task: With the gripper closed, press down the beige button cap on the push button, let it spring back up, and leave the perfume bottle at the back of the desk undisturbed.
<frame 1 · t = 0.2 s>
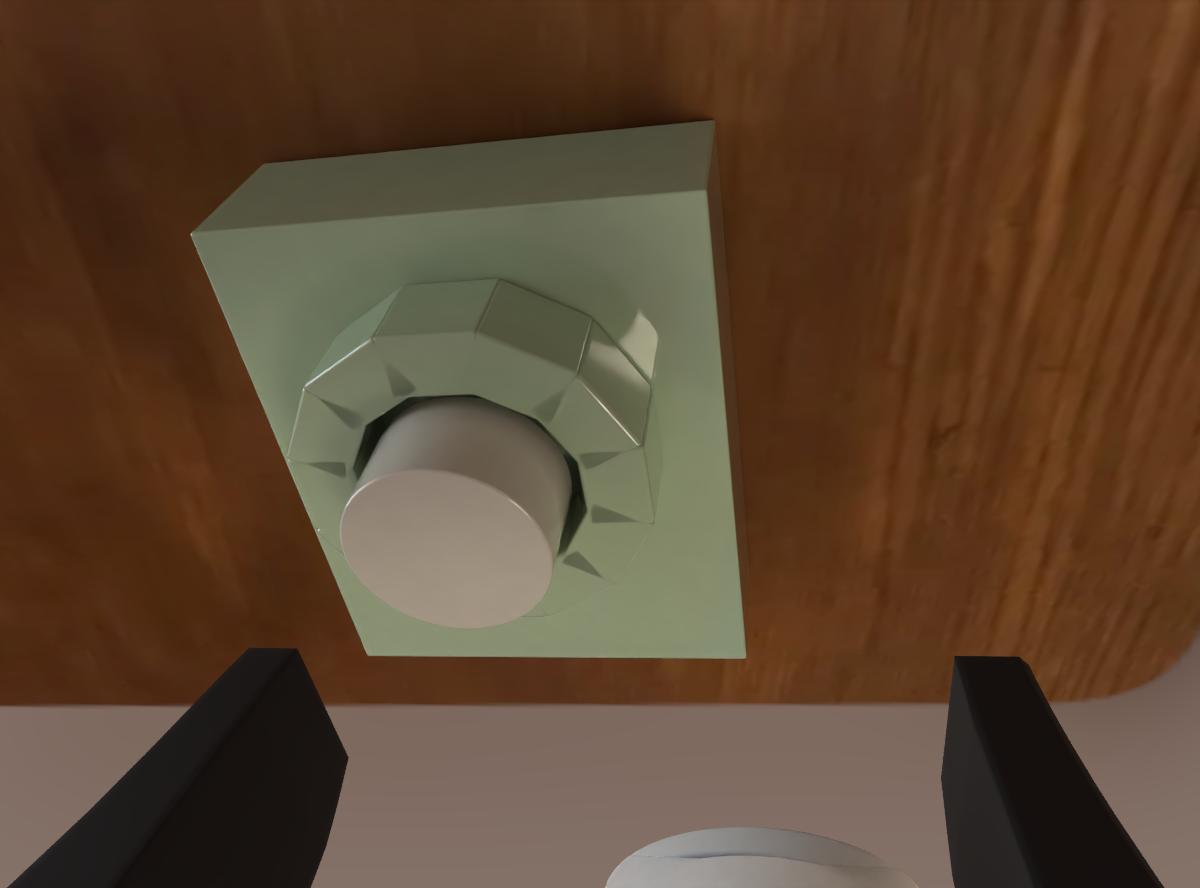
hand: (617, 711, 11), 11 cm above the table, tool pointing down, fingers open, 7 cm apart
beige button cap: (460, 514, 17), point 6 cm above the table, slide at 0.1 cm
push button: (531, 382, 22), on the table
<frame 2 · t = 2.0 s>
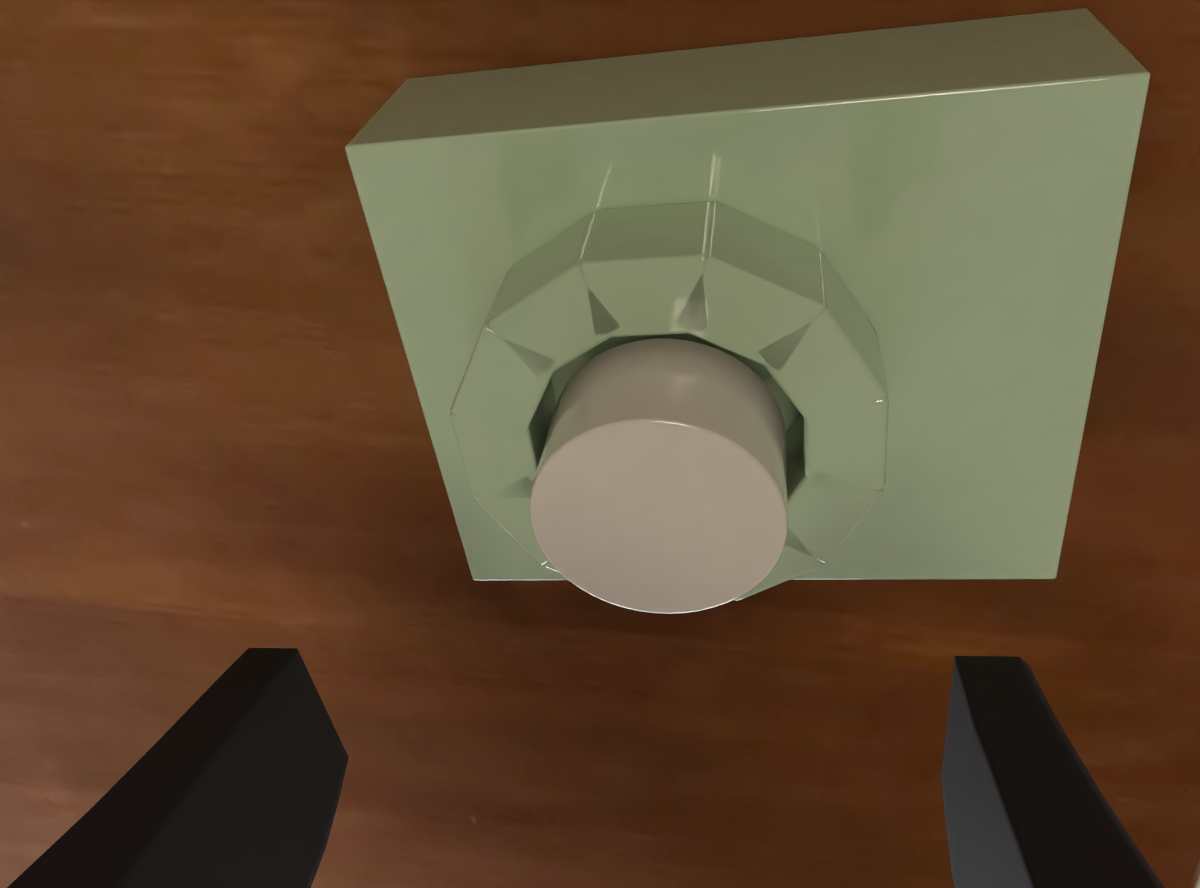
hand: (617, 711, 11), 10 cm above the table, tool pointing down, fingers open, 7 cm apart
beige button cap: (662, 478, 15), point 6 cm above the table, slide at 0.1 cm
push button: (739, 290, 19), on the table
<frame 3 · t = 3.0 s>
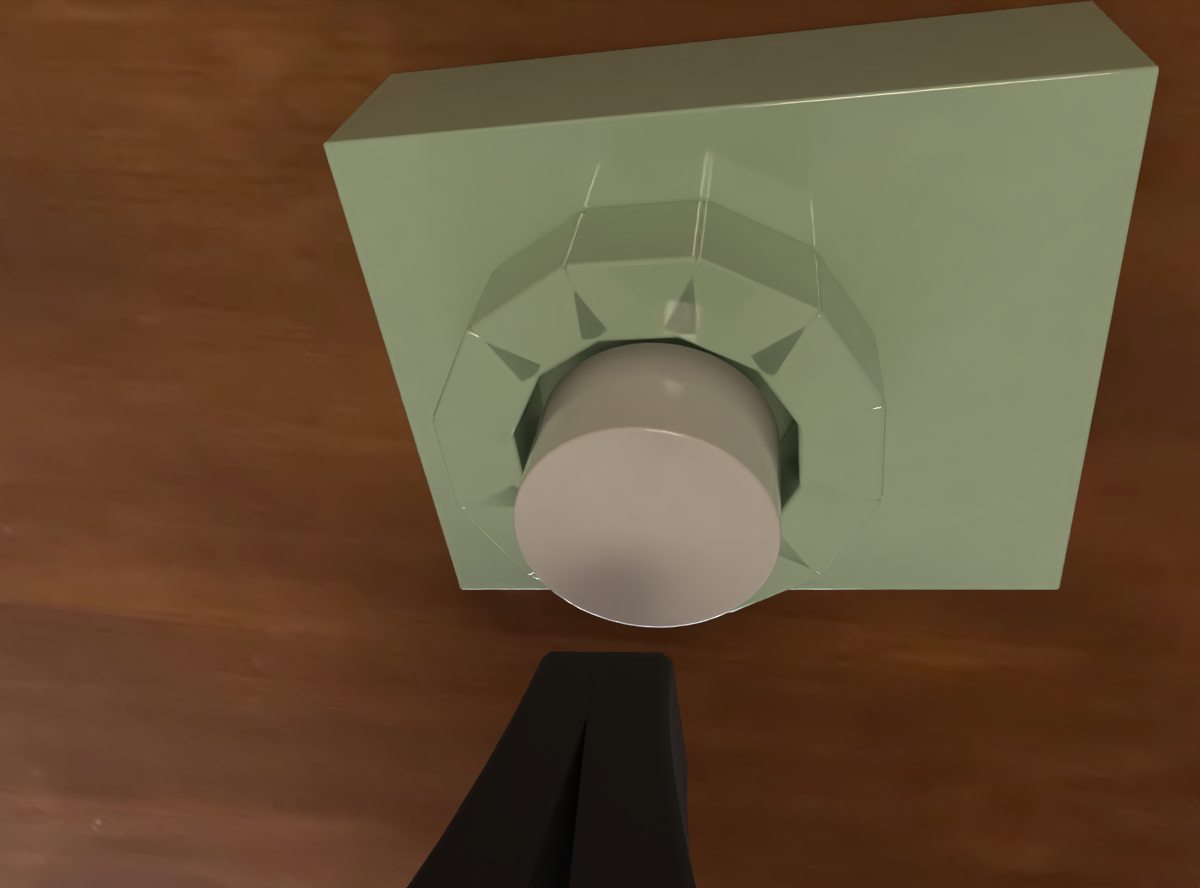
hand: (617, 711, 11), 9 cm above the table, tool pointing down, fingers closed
beige button cap: (651, 487, 14), point 6 cm above the table, slide at 0.1 cm
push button: (734, 292, 18), on the table
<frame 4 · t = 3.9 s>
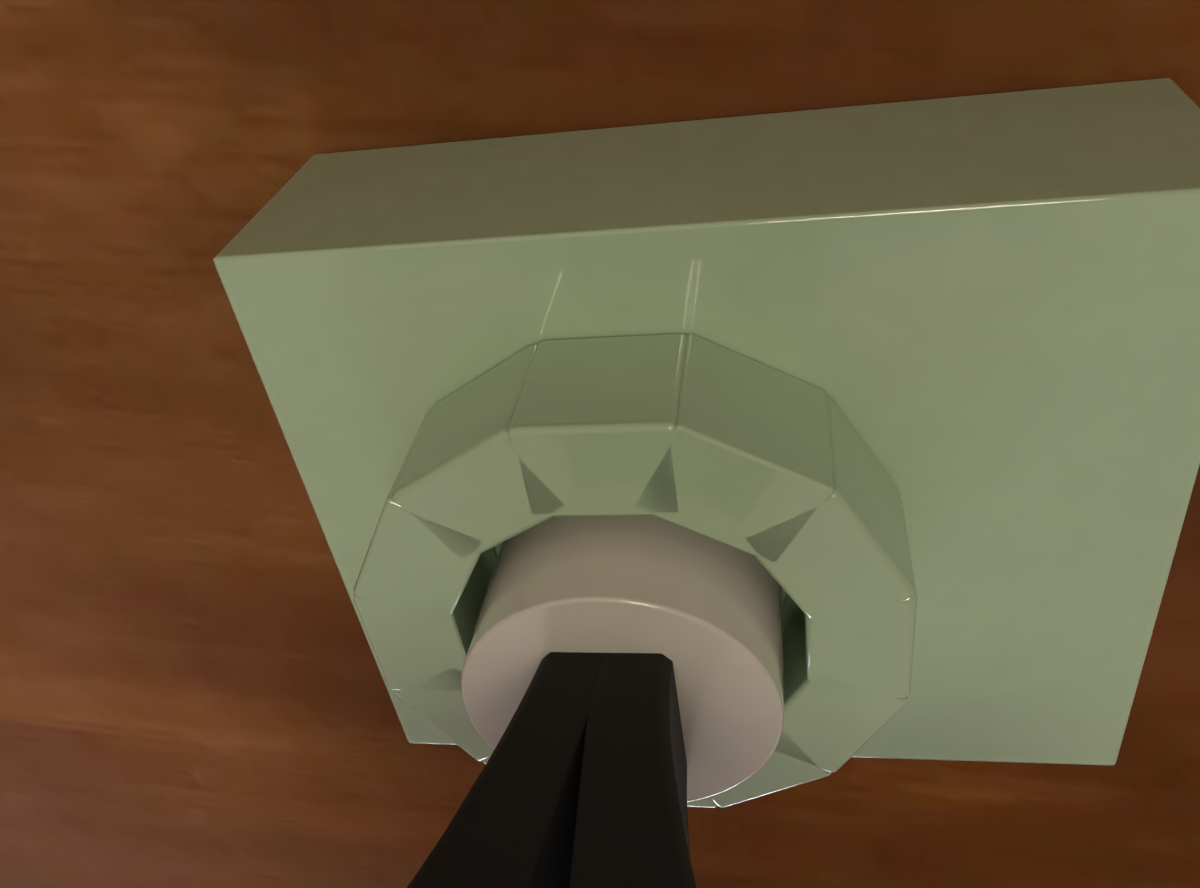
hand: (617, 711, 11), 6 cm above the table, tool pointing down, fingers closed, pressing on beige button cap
beige button cap: (629, 642, 12), point 5 cm above the table, slide at -0.6 cm, touching gripper
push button: (727, 403, 15), on the table
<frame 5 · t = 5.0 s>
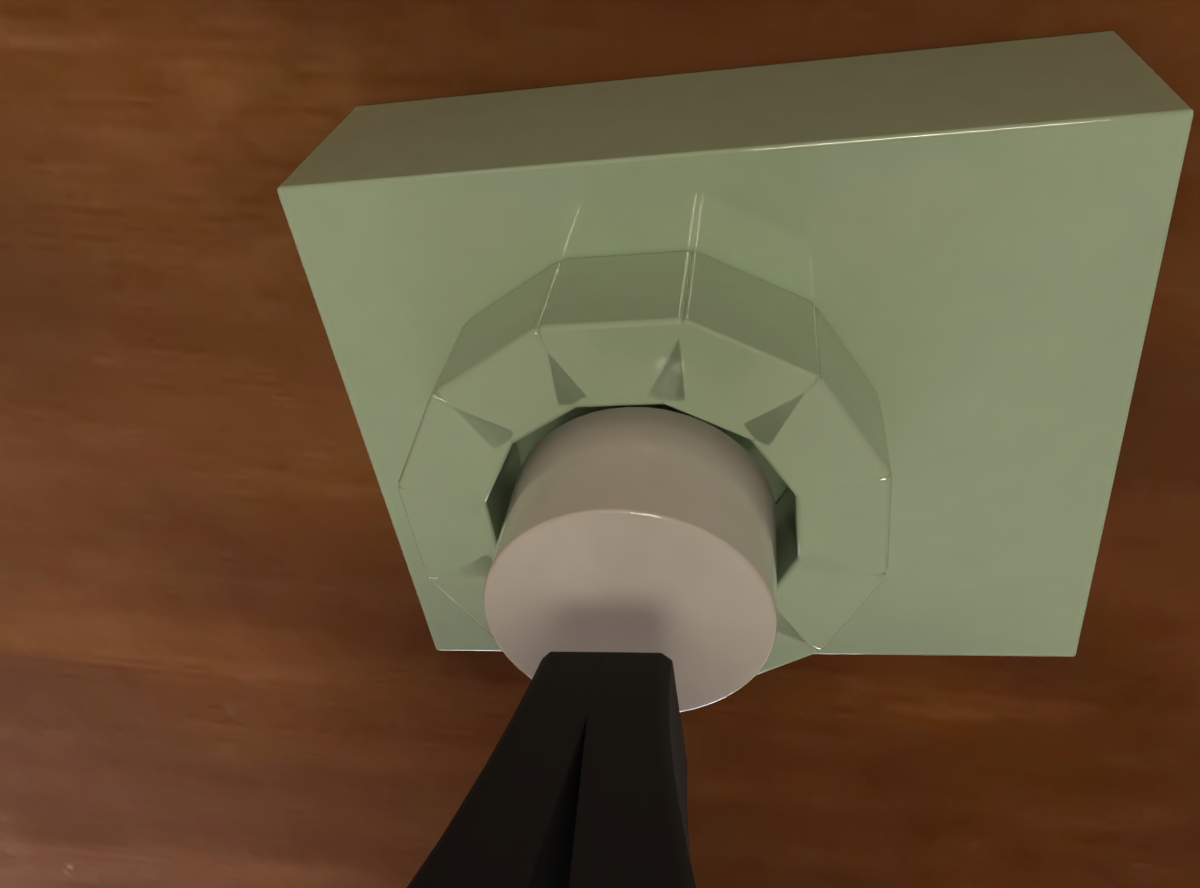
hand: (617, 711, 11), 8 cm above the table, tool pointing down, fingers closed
beige button cap: (635, 563, 13), point 6 cm above the table, slide at 0.1 cm
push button: (726, 336, 17), on the table
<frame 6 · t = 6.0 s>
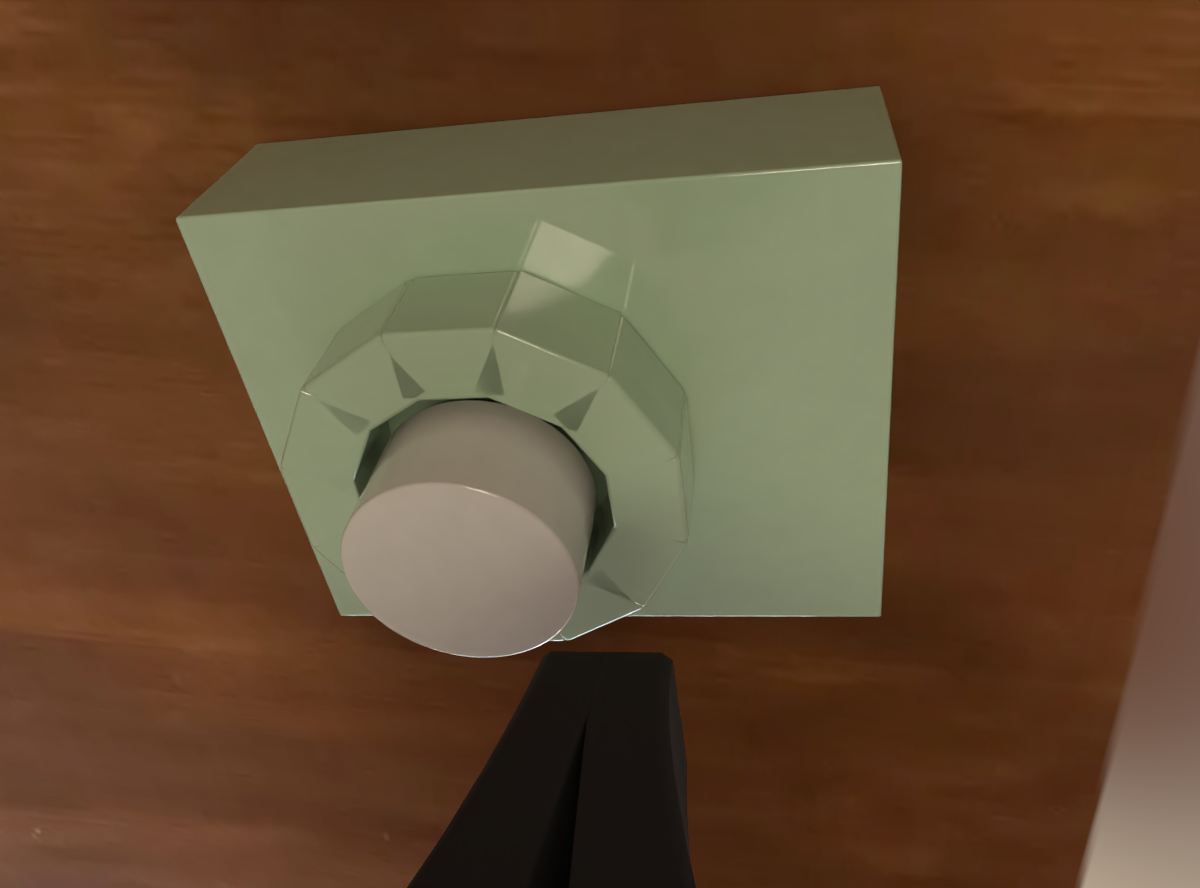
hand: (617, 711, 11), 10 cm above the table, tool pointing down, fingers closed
beige button cap: (474, 531, 15), point 6 cm above the table, slide at 0.1 cm
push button: (587, 340, 20), on the table
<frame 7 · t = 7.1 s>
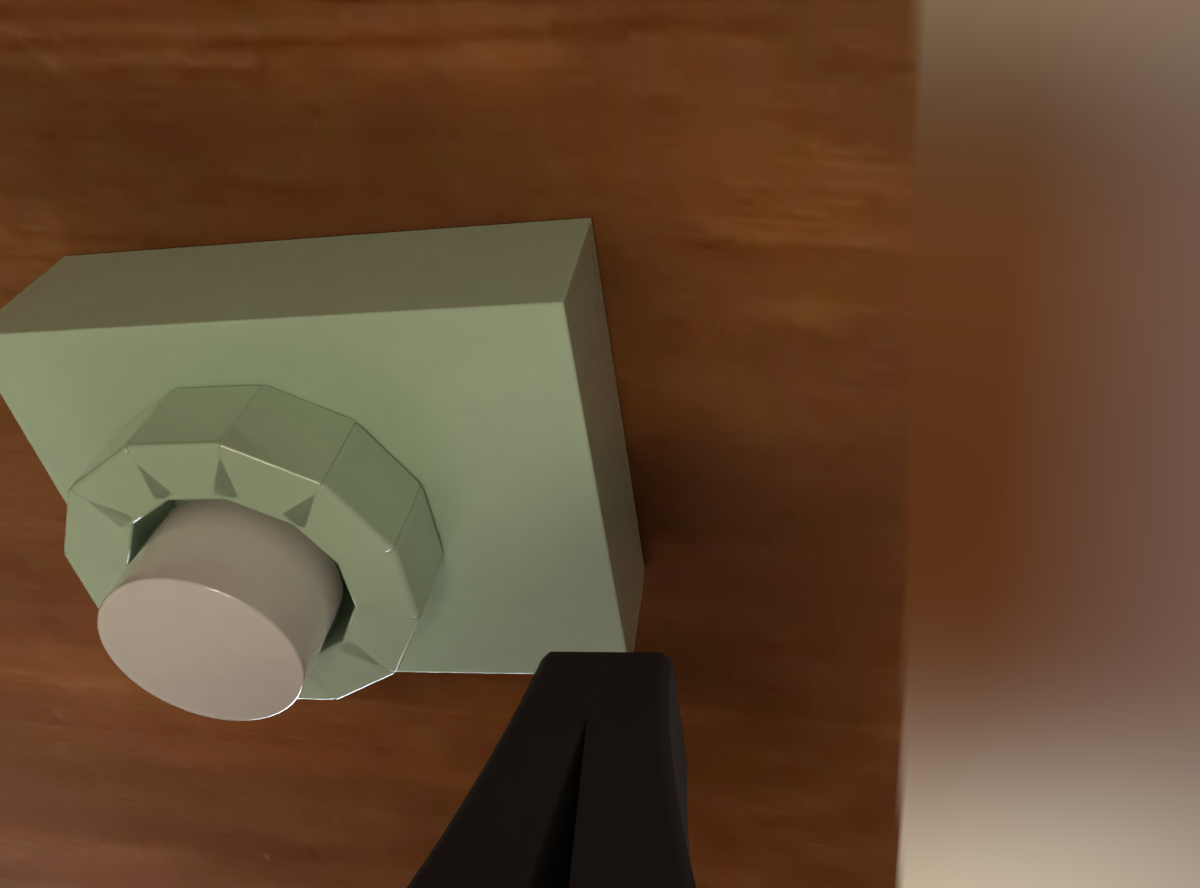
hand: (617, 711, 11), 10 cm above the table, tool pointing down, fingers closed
beige button cap: (226, 610, 18), point 6 cm above the table, slide at 0.1 cm
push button: (376, 424, 22), on the table
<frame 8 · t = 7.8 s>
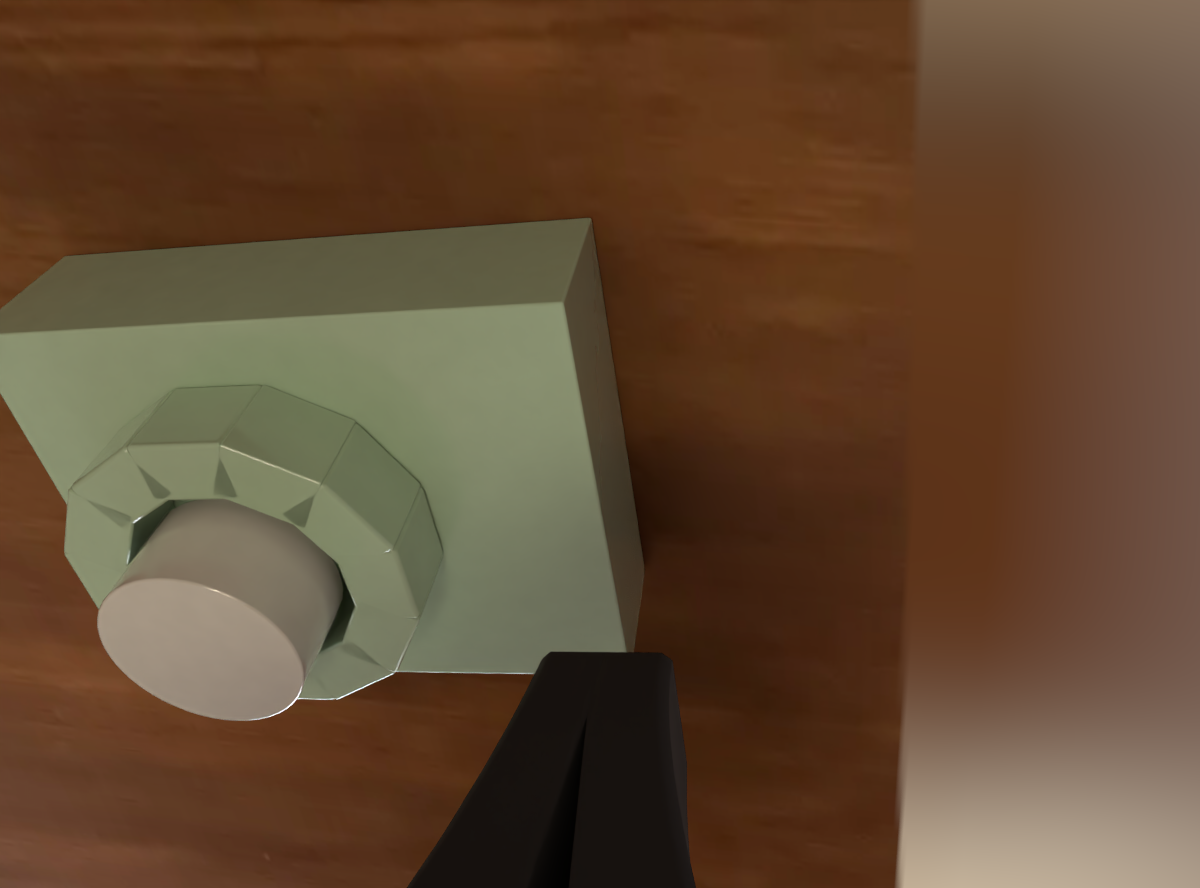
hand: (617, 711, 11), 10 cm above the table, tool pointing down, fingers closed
beige button cap: (226, 610, 18), point 6 cm above the table, slide at 0.1 cm
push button: (376, 424, 22), on the table
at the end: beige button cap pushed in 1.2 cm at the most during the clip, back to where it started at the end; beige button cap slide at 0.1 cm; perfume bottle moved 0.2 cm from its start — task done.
